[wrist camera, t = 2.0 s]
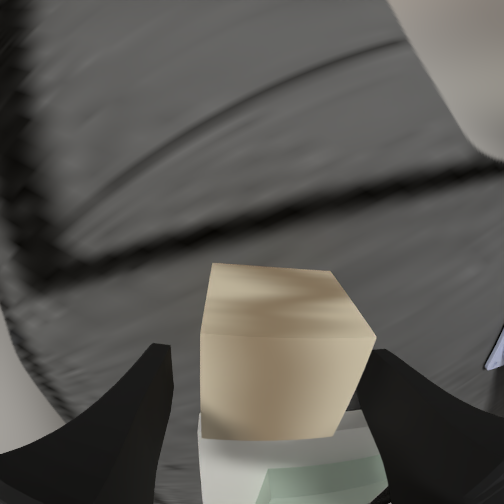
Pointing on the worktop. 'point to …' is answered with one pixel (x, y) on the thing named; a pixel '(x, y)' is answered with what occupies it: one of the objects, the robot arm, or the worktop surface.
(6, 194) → the worktop surface
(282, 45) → the worktop surface
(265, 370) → the maple cube
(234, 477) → the base board
